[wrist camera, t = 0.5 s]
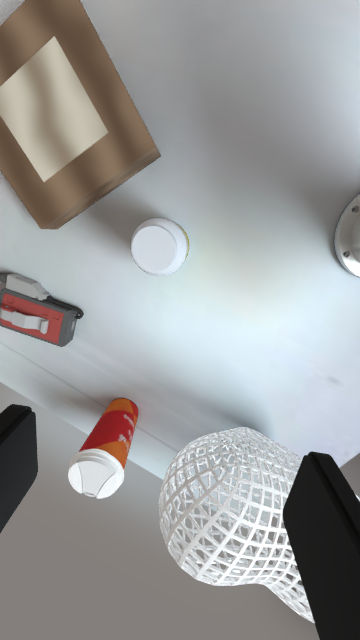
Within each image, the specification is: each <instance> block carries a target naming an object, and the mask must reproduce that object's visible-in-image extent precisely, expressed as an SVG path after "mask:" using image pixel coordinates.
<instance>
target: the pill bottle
mask: <svg viewBox="0 0 360 640" xmlns="http://www.w3.org/2000/svg"><path fill="white" fill-rule="evenodd" d="M188 251H189V239H188V236H187V234H186V232H185V231H184V229H183V228H182V227H181V226H179V225H178V224H176V223H174V222H172V221H170V220H168V219H164V218H152V219H149V220H146V221H145V222H143V223H142V224H140V225H139V226H138V227H137V229H136V230H135V232H134V234H133V236H132V239H131V253H132V256H133V259H134V261H135V263H136V264H137V265H138V267H139V268H140V269H142V270H143V271H144V272H146V273H148V274H150V275H154V276H165V275H169V274H171V273H173V272H175V271H176V270H177V269H178V268H179V267H180V266H181V265H182V264H183V262H184V260H185V259H186V257H187V255H188Z"/></svg>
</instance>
